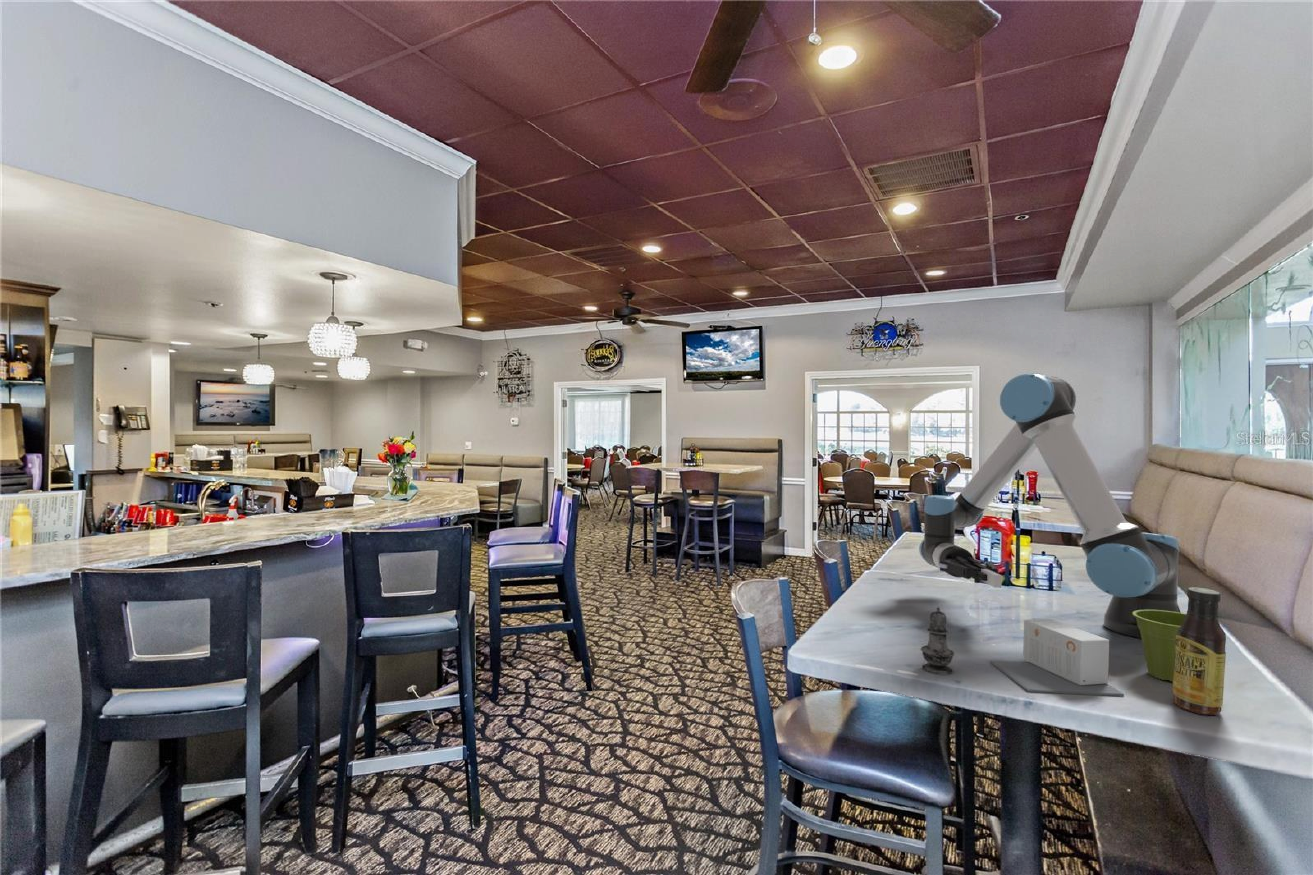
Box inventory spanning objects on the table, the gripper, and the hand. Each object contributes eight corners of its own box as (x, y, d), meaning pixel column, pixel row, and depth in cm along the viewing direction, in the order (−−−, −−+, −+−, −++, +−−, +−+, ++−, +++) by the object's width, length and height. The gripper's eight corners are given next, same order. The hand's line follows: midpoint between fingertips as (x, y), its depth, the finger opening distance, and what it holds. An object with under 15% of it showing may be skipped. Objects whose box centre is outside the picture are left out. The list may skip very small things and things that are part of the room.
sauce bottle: (1162, 701, 104) (1164, 584, 104) (1196, 700, 105) (1198, 584, 105) (1199, 718, 98) (1202, 594, 97) (1235, 718, 98) (1238, 594, 98)
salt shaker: (958, 676, 113) (959, 612, 113) (924, 673, 114) (925, 609, 114) (949, 665, 119) (950, 603, 119) (917, 662, 120) (918, 601, 120)
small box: (1049, 658, 123) (1109, 684, 110) (1021, 659, 121) (1079, 686, 109) (1050, 617, 123) (1110, 639, 110) (1023, 618, 121) (1081, 641, 109)
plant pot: (1158, 663, 122) (1159, 606, 122) (1230, 686, 111) (1231, 624, 111) (1116, 669, 118) (1117, 611, 118) (1186, 694, 107) (1187, 630, 107)
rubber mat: (1074, 665, 120) (1074, 663, 120) (1124, 696, 106) (1124, 694, 106) (989, 662, 121) (990, 660, 121) (1027, 691, 107) (1027, 689, 107)
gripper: (979, 575, 158) (1028, 599, 134) (927, 573, 158) (967, 597, 135) (979, 546, 158) (1029, 565, 134) (927, 544, 158) (967, 563, 135)
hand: (997, 581), depth 135 cm, fingers closed
